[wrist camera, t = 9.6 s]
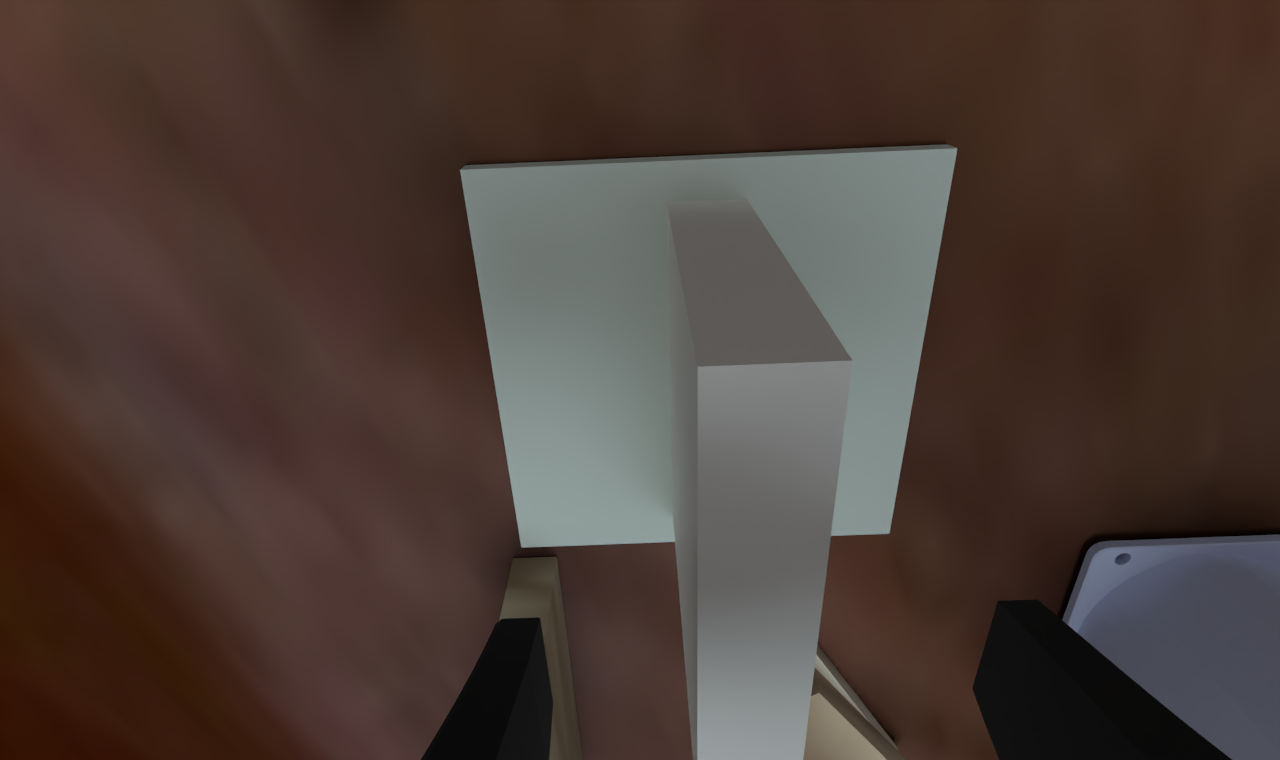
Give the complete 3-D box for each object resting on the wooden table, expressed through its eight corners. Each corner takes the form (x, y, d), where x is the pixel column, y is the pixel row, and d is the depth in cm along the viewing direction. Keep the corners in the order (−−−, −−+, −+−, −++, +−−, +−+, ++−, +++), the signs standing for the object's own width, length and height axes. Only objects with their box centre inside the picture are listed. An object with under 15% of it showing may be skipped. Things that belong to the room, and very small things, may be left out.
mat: (946, 144, 17) (957, 148, 16) (883, 521, 22) (889, 533, 22) (465, 165, 17) (459, 170, 16) (523, 534, 22) (521, 547, 22)
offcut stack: (815, 625, 25) (831, 680, 23) (900, 736, 28) (921, 794, 26) (704, 673, 26) (710, 730, 24) (798, 774, 30) (810, 832, 27)
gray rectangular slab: (746, 198, 17) (852, 360, 9) (735, 514, 21) (797, 808, 13) (666, 202, 17) (697, 366, 9) (672, 517, 21) (697, 811, 13)
